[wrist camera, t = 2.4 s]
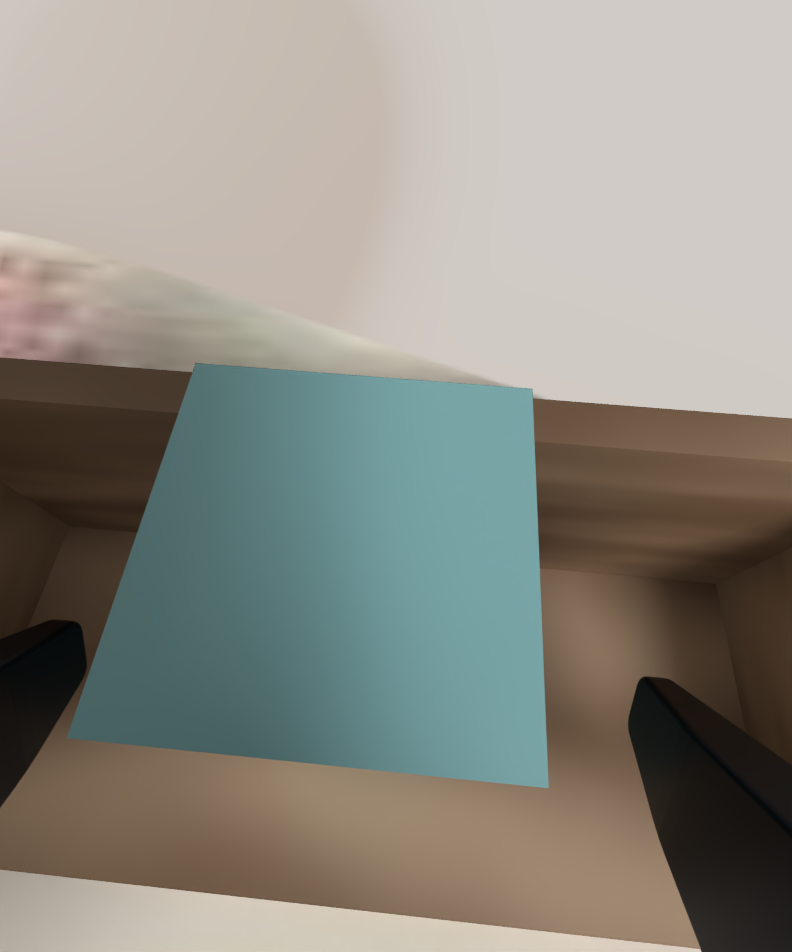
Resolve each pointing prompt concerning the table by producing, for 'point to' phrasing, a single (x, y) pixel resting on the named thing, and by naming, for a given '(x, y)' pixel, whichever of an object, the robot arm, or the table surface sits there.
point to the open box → (399, 794)
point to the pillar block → (335, 581)
